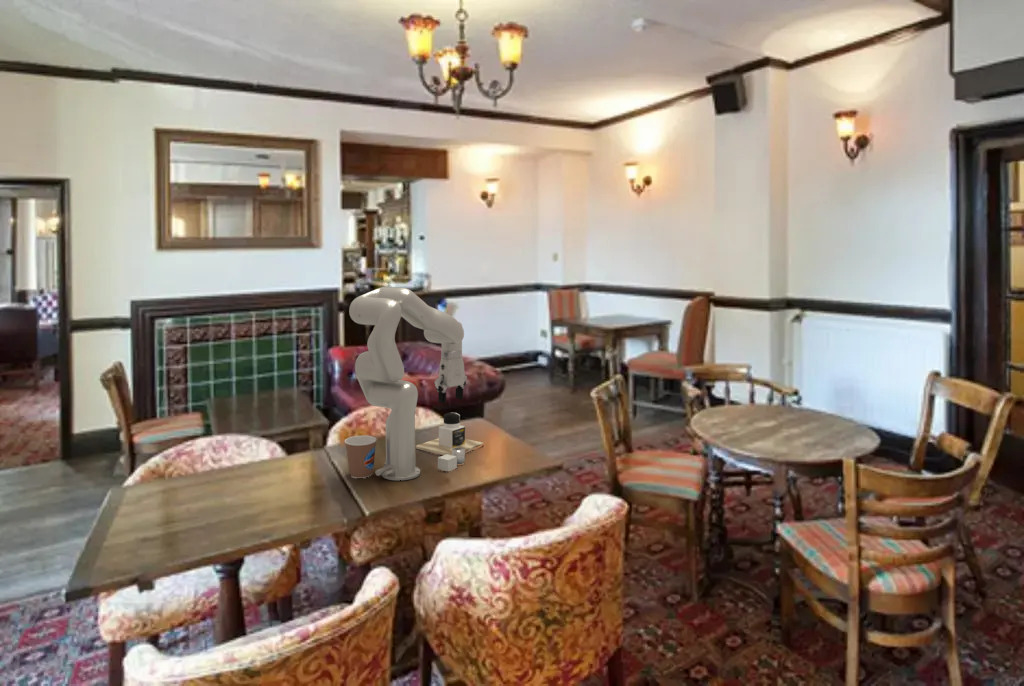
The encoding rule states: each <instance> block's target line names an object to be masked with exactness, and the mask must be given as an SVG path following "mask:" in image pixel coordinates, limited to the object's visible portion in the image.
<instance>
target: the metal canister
mask: <svg viewBox="0 0 1024 686" xmlns="http://www.w3.org/2000/svg"><path fill="white" fill-rule="evenodd" d="M465 455H466V454H465V449H463V448H454V449H452V456H457V464H462V463H464V462H465V460H466V456H465Z"/></svg>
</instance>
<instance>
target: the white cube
mask: <svg viewBox="0 0 1024 686" xmlns="http://www.w3.org/2000/svg"><path fill="white" fill-rule="evenodd" d="M455 468H457V469H458V466H457V456H452V455H448V454H446V455H443V456H438V457H437V470H438V469H441V470H444V471H451V470H453V469H455ZM451 472H452V471H451Z"/></svg>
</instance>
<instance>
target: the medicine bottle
mask: <svg viewBox="0 0 1024 686" xmlns="http://www.w3.org/2000/svg"><path fill="white" fill-rule="evenodd" d="M438 438H439V445H440V446H444V447H448V448H452V449H453V448H456V447H459V446H461V445H464V444H465V439H466V427H465V425H461V415H460V414H459V413H457V412H447V413H445V414H443V425H441V426H438Z"/></svg>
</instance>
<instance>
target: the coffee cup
mask: <svg viewBox="0 0 1024 686" xmlns="http://www.w3.org/2000/svg"><path fill="white" fill-rule="evenodd" d="M377 441H378V438H376V437H375V436H374V435H373V436H372V435H355V436H349V437H347V438H346V439H344V443H345V448H346V449H345V450H346V454H347V455H346V456H347V462H348V468H349V469H348V470H349V474H350V477H351V478H353V479H357V478H363V479H367V478H366V477H368V478H370V477H371V475H372V476H373V472H374V467H375V456H376V444H377ZM369 476H370V477H369Z"/></svg>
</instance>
